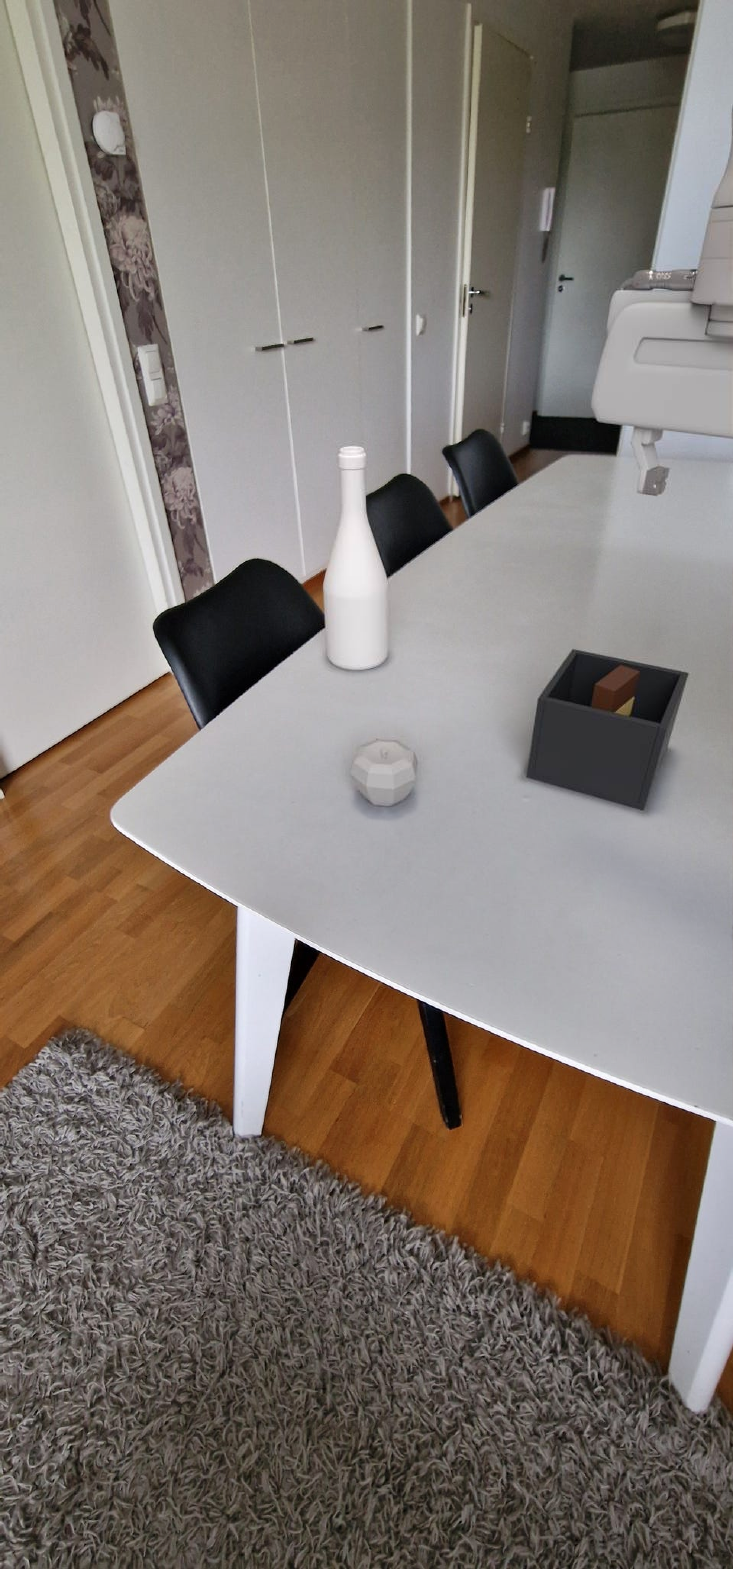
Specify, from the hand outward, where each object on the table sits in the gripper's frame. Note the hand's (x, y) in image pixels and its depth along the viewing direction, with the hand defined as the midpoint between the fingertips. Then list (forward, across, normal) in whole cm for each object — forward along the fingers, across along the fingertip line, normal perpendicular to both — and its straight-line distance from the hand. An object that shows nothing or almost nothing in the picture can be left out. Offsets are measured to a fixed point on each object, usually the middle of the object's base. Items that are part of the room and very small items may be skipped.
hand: (711, 504), depth 51 cm
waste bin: (+35, -10, +14) cm, 39 cm away
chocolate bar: (+34, -10, +14) cm, 38 cm away
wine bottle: (+35, -51, +15) cm, 64 cm away
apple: (+35, -25, -8) cm, 44 cm away
